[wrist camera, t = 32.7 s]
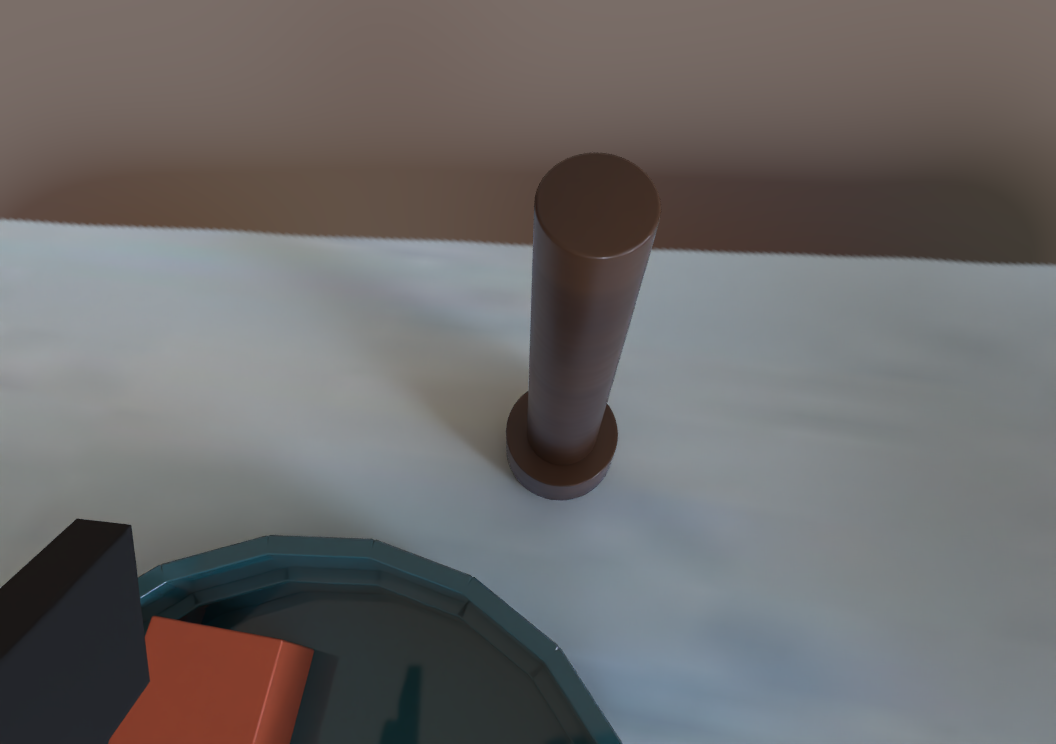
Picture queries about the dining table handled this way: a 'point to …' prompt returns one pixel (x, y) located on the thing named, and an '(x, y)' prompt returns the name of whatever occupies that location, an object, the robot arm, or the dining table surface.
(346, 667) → the bowl
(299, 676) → the terracotta block
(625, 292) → the pestle
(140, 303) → the dining table surface
